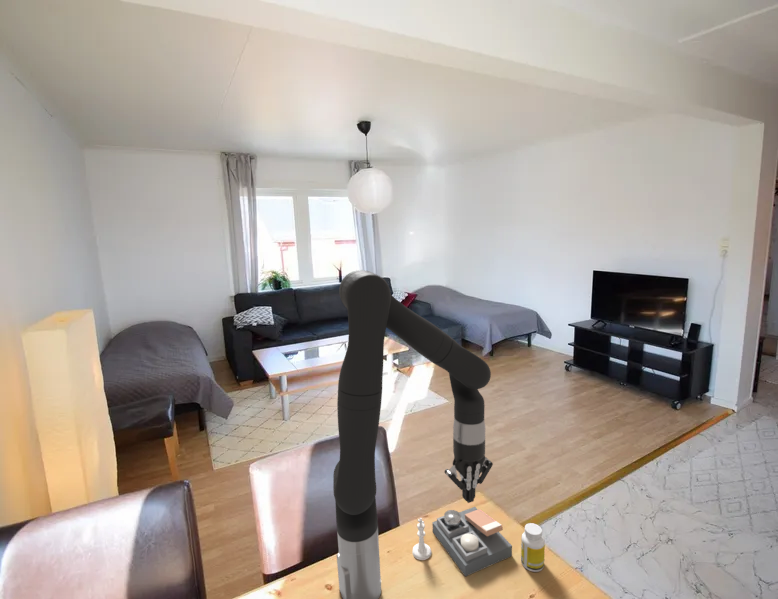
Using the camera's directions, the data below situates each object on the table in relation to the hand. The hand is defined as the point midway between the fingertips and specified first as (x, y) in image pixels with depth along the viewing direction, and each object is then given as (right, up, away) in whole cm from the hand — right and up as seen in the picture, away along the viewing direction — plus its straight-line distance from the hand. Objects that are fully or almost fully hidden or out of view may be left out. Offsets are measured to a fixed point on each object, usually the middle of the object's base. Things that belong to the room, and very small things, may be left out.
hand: (468, 500), depth 99 cm
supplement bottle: (+16, -16, +1) cm, 23 cm away
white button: (+1, -13, +2) cm, 13 cm away
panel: (+2, -15, +8) cm, 17 cm away
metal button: (-2, -11, +9) cm, 14 cm away
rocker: (+5, -10, +8) cm, 14 cm away
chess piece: (-11, -17, +6) cm, 21 cm away
